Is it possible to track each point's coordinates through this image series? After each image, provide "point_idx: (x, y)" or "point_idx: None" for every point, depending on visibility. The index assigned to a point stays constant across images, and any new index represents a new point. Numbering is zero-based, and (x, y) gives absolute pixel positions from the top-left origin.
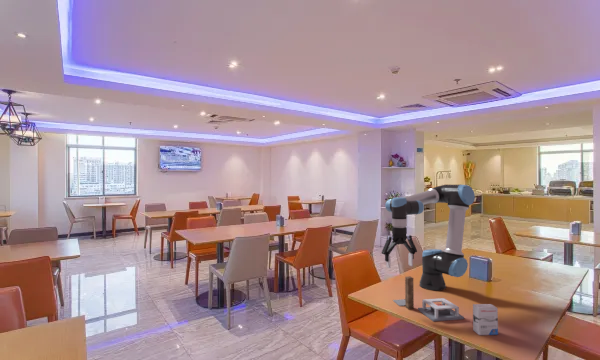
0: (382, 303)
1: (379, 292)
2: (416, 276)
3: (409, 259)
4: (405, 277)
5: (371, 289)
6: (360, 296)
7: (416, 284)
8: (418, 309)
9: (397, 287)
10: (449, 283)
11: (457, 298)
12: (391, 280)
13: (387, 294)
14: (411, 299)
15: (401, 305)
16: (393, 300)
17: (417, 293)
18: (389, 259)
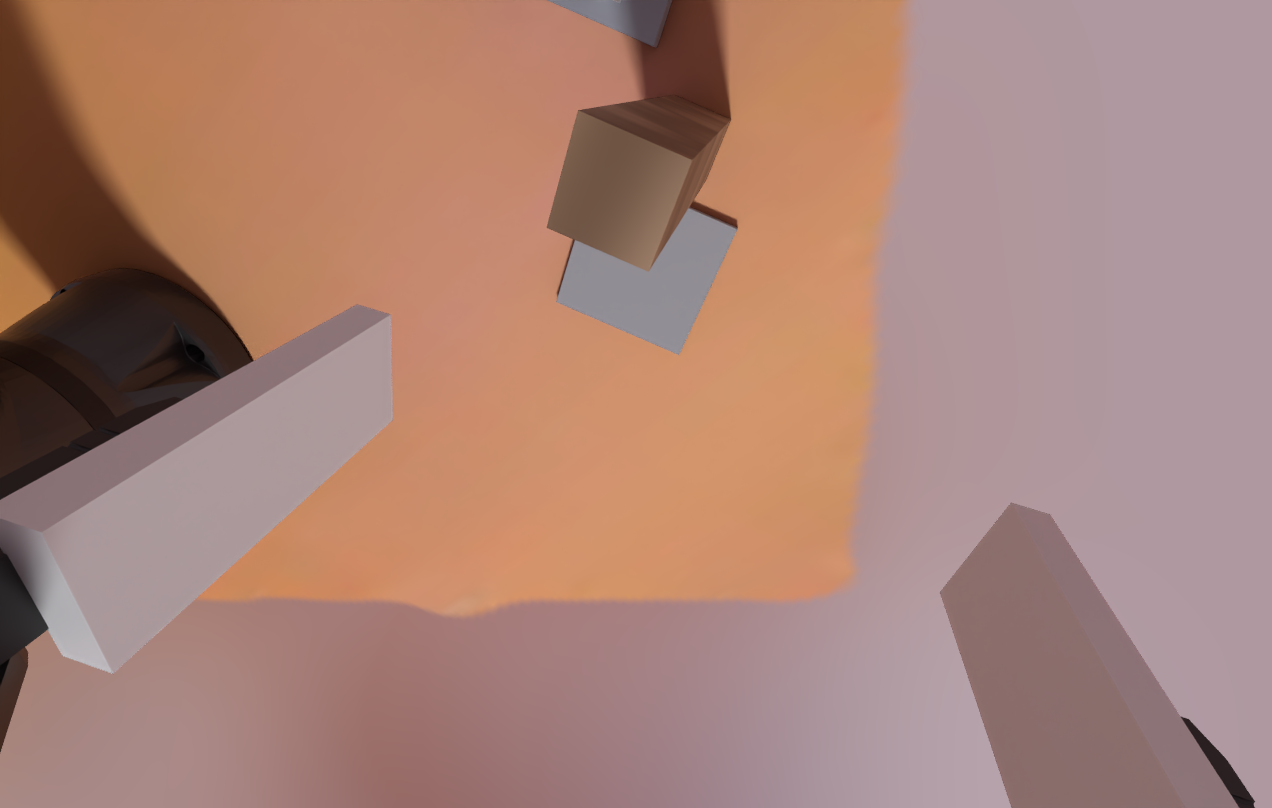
0: (811, 364)
1: (631, 516)
2: None
3: (287, 471)
4: (655, 258)
5: (637, 578)
6: (828, 550)
7: None
8: (660, 31)
9: (436, 499)
10: None
11: (99, 48)
12: (388, 589)
13: (608, 460)
14: (682, 108)
15: (719, 221)
16: (683, 344)
17: None
18: (1197, 758)
